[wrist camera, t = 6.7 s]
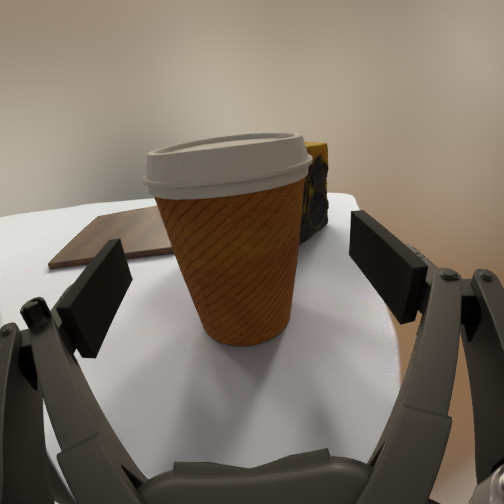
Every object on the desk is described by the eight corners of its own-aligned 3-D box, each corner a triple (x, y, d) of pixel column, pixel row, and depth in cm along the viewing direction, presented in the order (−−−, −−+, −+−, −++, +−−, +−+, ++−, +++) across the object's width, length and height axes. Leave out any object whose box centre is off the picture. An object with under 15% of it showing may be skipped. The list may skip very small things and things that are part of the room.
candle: (211, 238, 34) (199, 153, 29) (262, 211, 40) (256, 140, 36) (287, 258, 28) (280, 152, 23) (330, 223, 34) (328, 141, 30)
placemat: (49, 269, 30) (47, 263, 30) (98, 220, 47) (97, 216, 46) (176, 253, 31) (174, 246, 31) (193, 205, 47) (193, 200, 47)
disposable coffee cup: (164, 361, 17) (104, 168, 11) (198, 281, 25) (173, 142, 20) (318, 364, 16) (323, 142, 10) (308, 278, 24) (303, 130, 19)
